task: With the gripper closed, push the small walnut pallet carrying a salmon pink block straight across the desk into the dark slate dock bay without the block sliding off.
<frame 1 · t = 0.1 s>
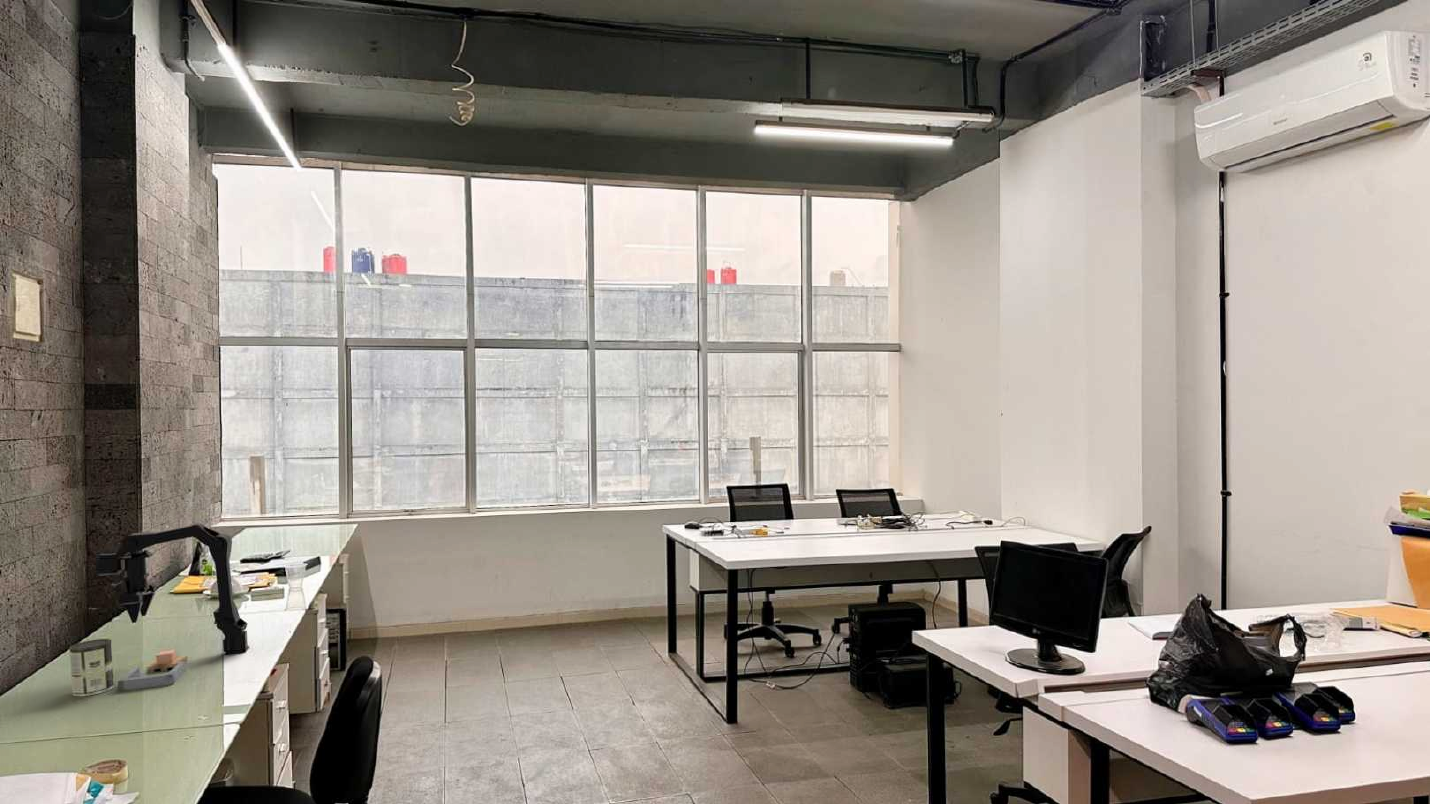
hand: (139, 619, 286), 14 cm above the table, tool pointing down, fingers open, 9 cm apart
pallet: (168, 667, 281), on the table
dock: (154, 680, 267), on the table
coffee can: (93, 691, 260), on the table
salmon pink block: (166, 661, 280), point 2 cm above the table
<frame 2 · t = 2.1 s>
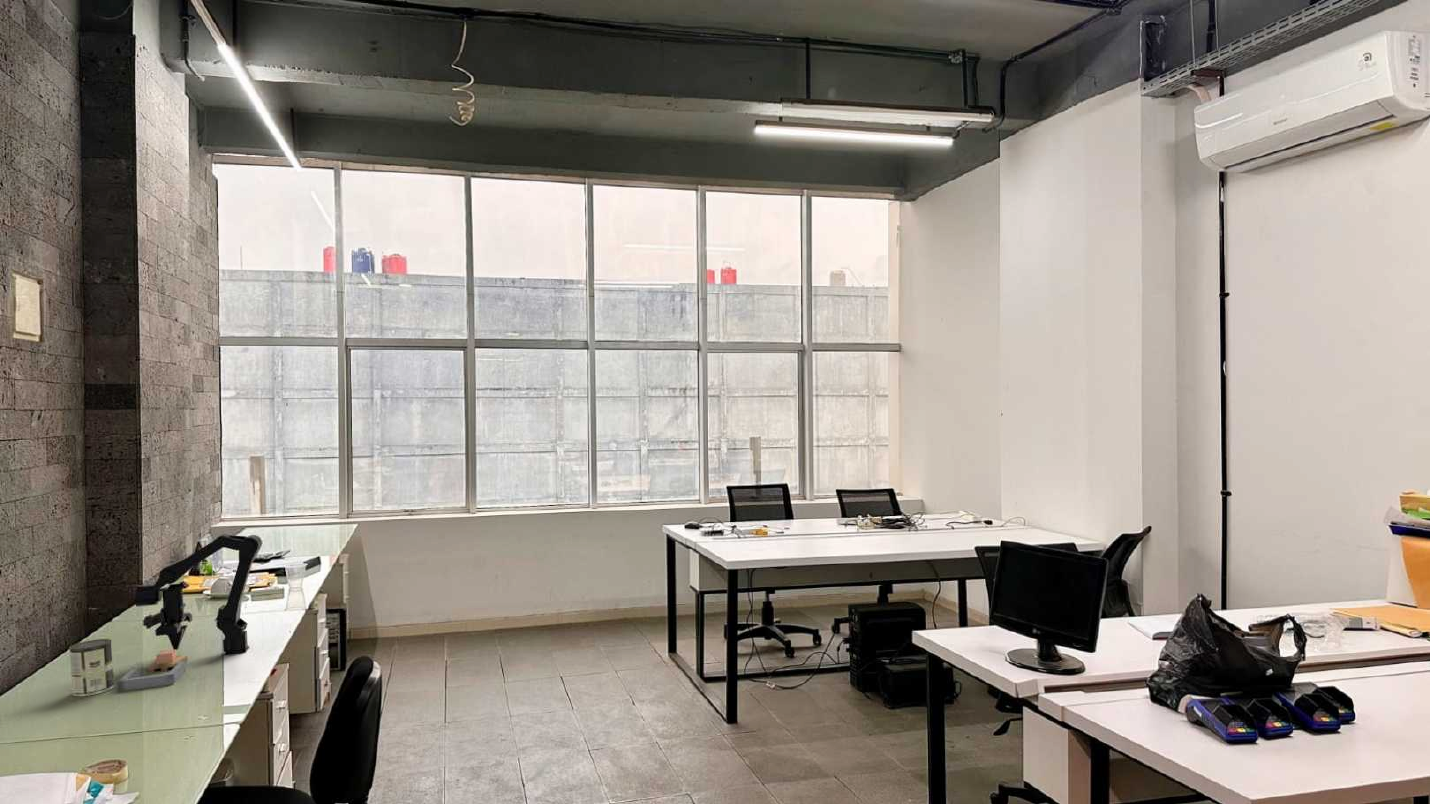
hand: (176, 649, 289), 3 cm above the table, tool pointing down, fingers closed
pallet: (168, 667, 281), on the table, touching salmon pink block
salmon pink block: (166, 661, 280), point 2 cm above the table, touching pallet
everything else where it was.
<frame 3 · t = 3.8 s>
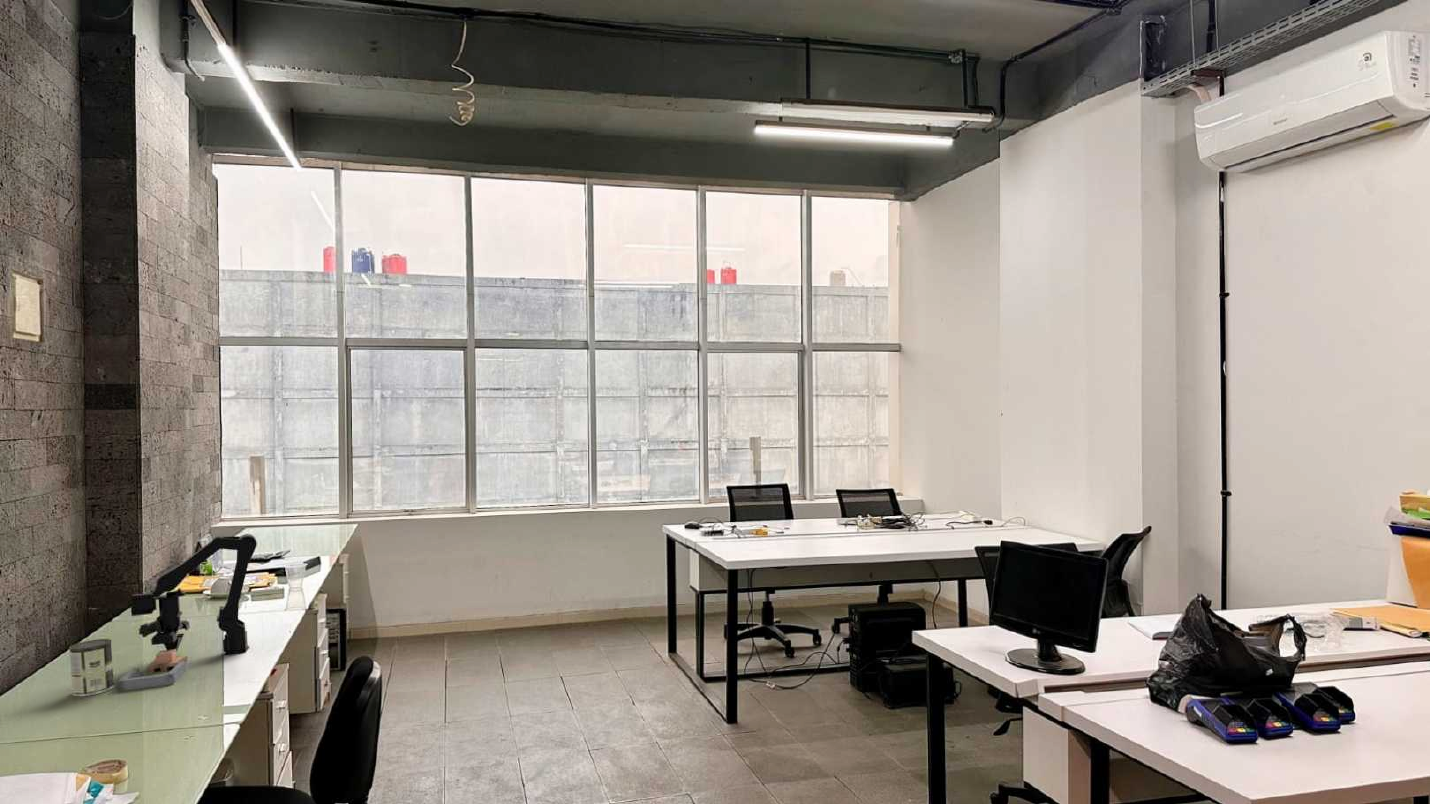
hand: (172, 658, 286), 1 cm above the table, tool pointing down, fingers closed
pallet: (168, 667, 281), on the table, touching salmon pink block, gripper
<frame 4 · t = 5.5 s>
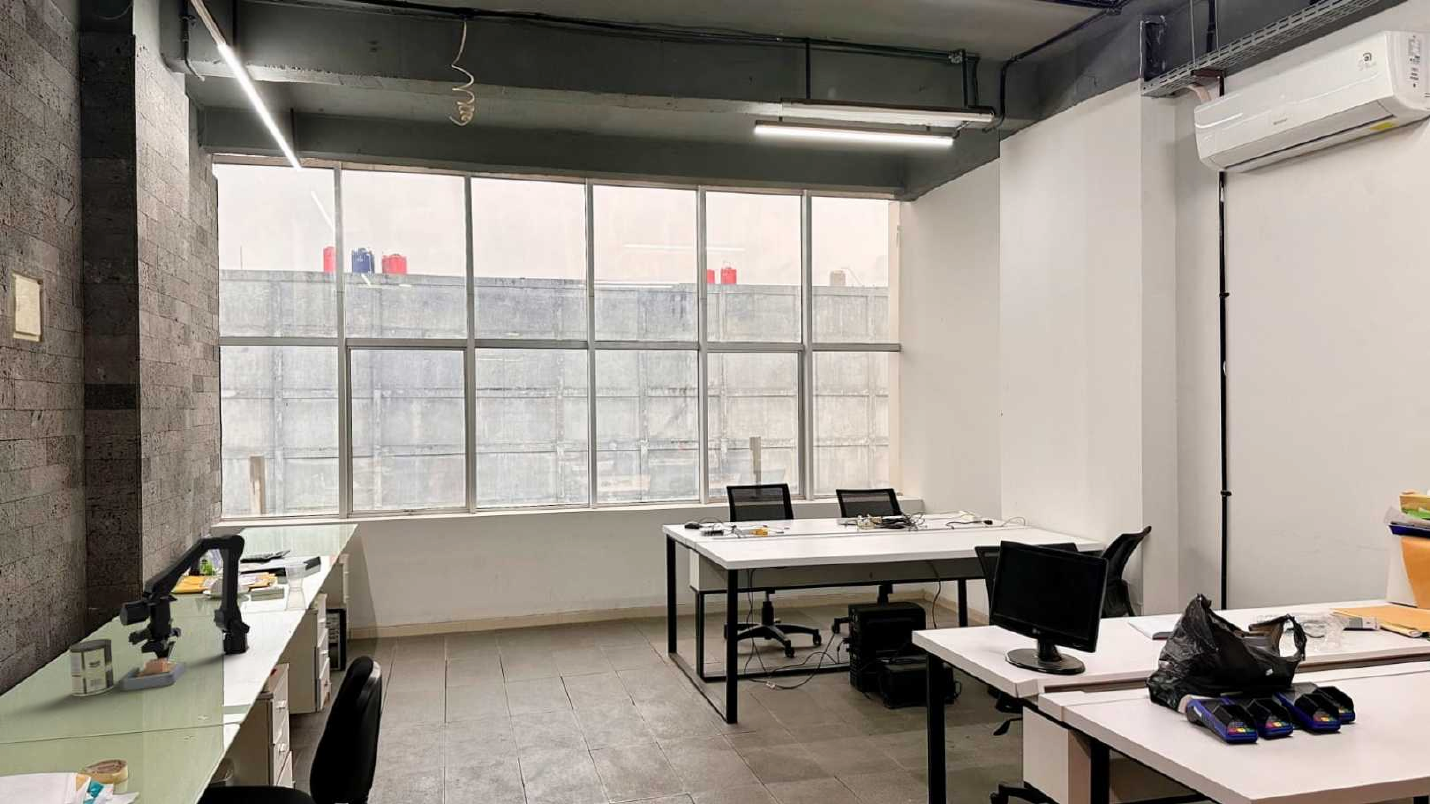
hand: (163, 666, 276), 1 cm above the table, tool pointing down, fingers closed
pallet: (158, 675, 271), on the table, touching salmon pink block, gripper
salmon pink block: (157, 670, 270), point 2 cm above the table, touching pallet
everything else where it was.
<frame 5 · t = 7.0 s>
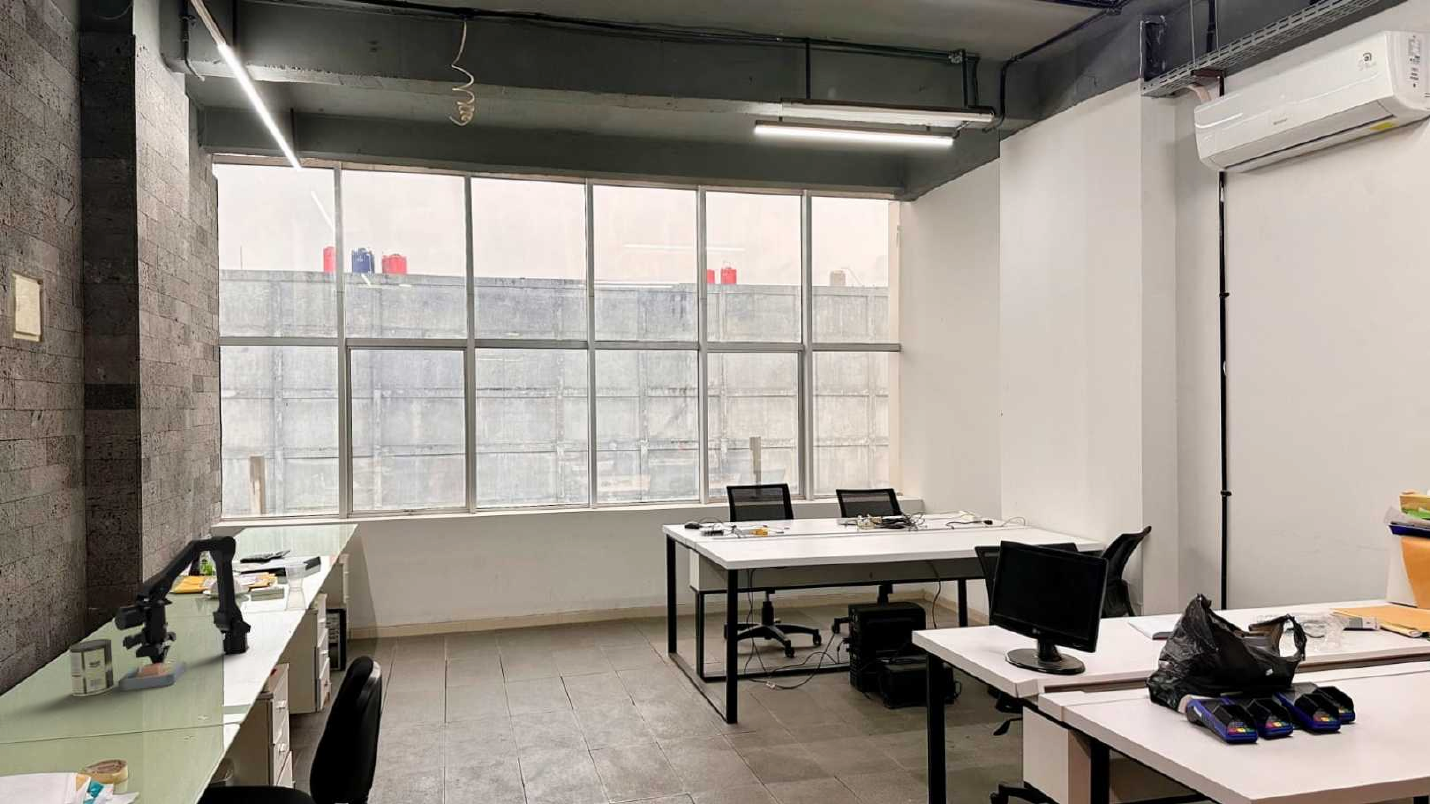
hand: (158, 671, 271), 1 cm above the table, tool pointing down, fingers closed
pallet: (153, 681, 267), on the table, touching gripper
salmon pink block: (152, 675, 265), point 2 cm above the table
everything else where it was.
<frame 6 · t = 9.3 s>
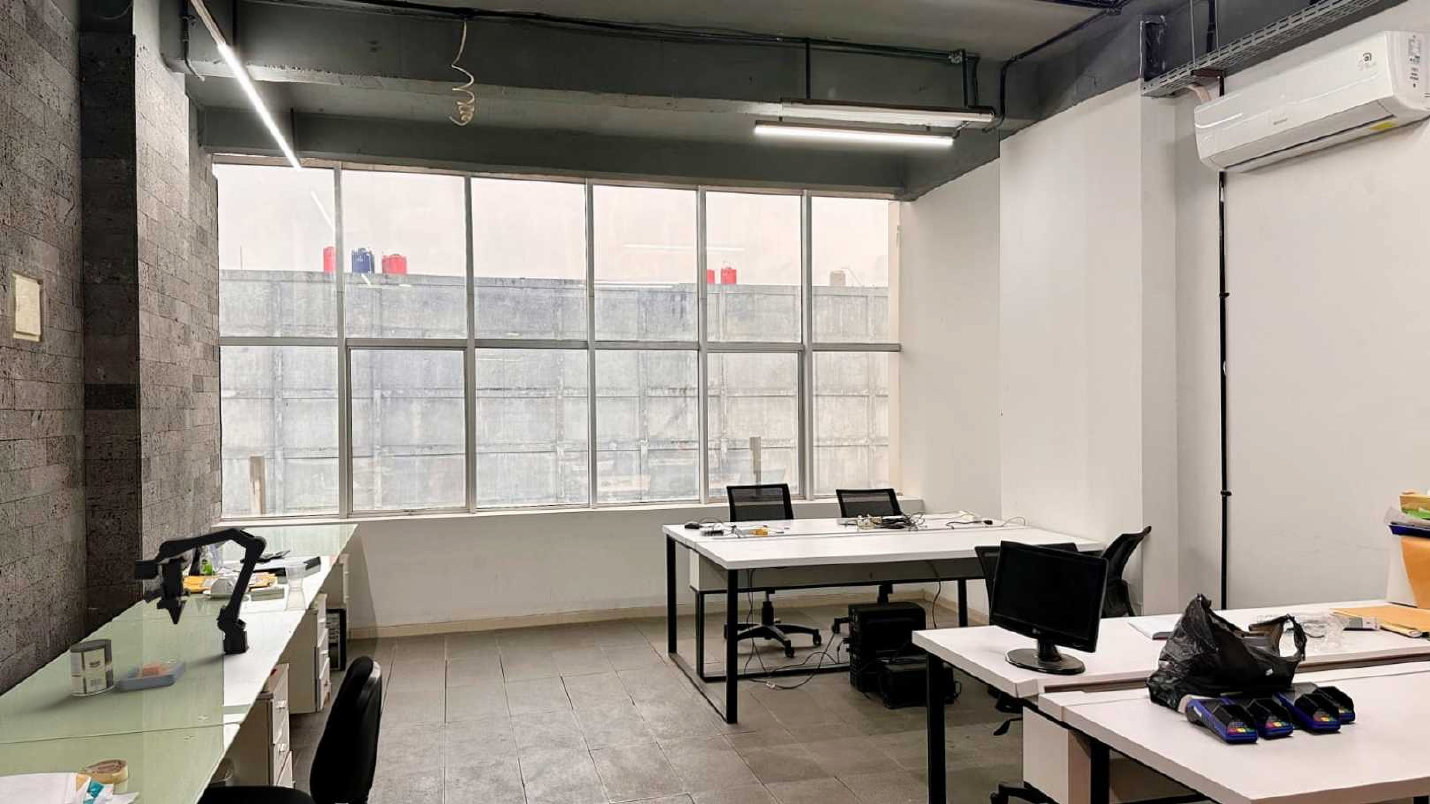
hand: (175, 624, 288), 12 cm above the table, tool pointing down, fingers closed
pallet: (153, 681, 266), on the table, touching salmon pink block
salmon pink block: (152, 675, 266), point 2 cm above the table, touching pallet
everything else where it was.
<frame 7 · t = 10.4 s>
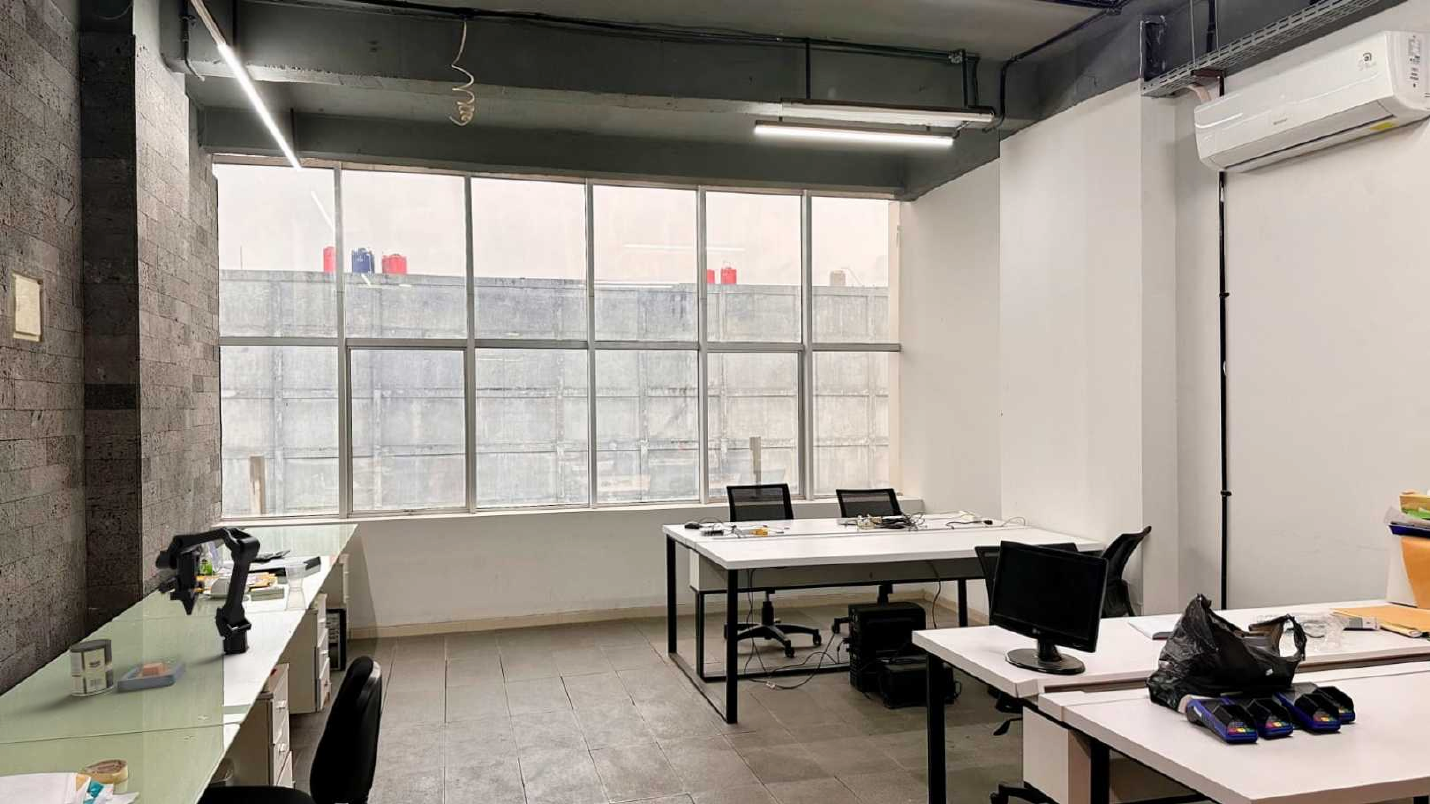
hand: (189, 615, 299), 12 cm above the table, tool pointing down, fingers closed
nothing on the table moved.
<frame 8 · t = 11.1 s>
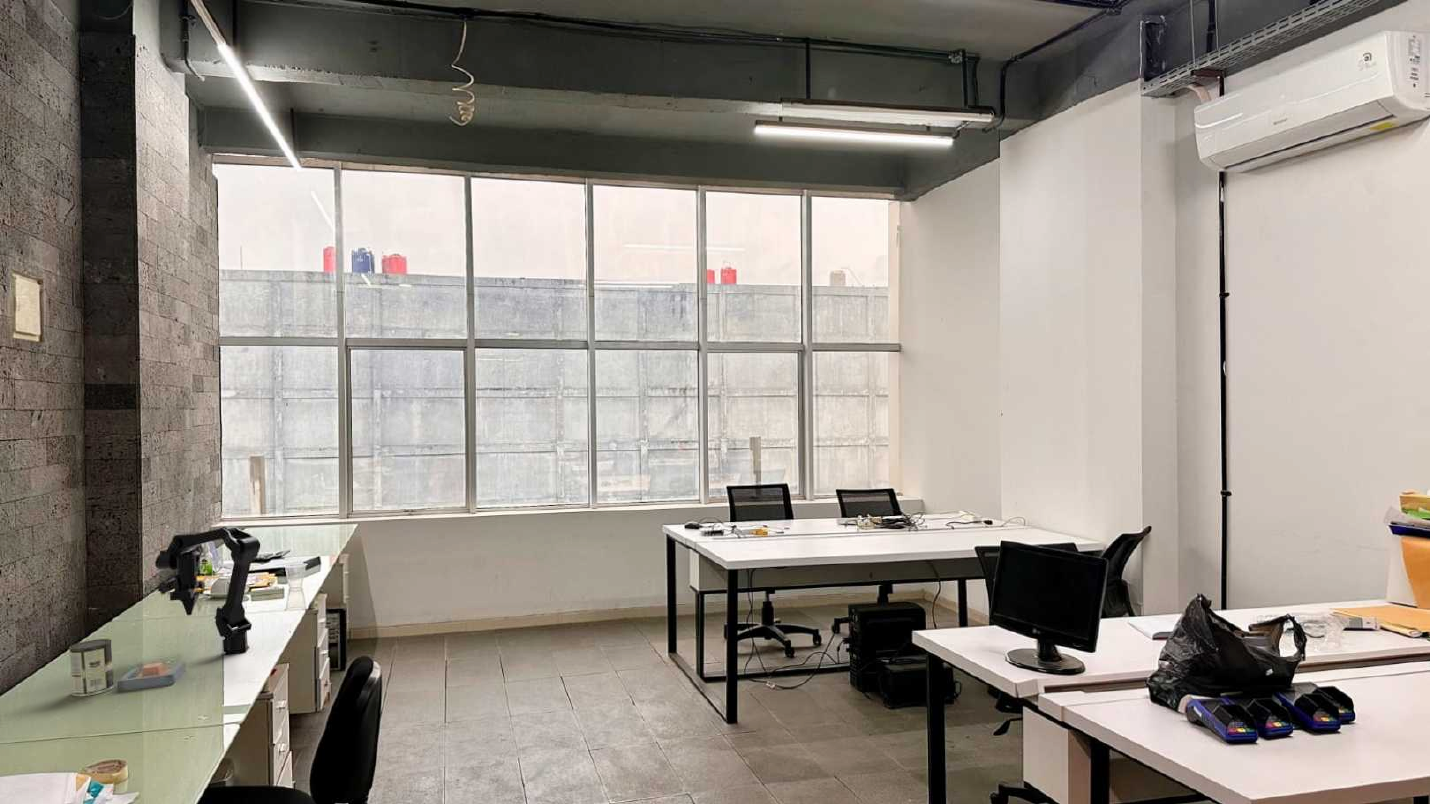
hand: (189, 615, 299), 12 cm above the table, tool pointing down, fingers closed
nothing on the table moved.
at the end: pallet inside the target area on the dock (0.7 cm from its centre), point 0.0 cm above the dock's base; salmon pink block 0.3 cm from the pallet (horizontally); salmon pink block point 1.9 cm above the table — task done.
